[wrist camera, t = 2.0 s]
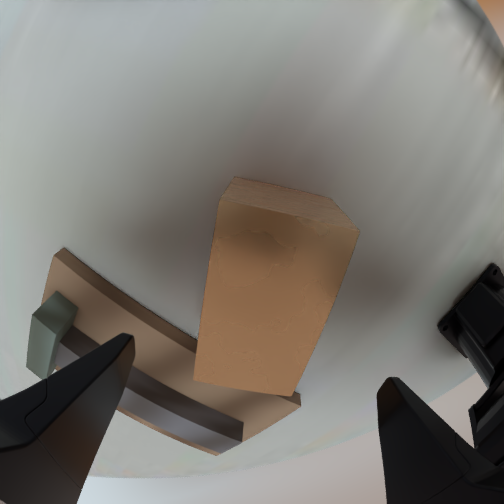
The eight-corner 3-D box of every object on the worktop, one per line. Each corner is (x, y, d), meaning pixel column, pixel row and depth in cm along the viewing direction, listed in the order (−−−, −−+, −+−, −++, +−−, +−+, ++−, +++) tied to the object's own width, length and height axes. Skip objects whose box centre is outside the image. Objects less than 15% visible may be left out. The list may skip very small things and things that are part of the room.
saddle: (330, 198, 14) (360, 231, 10) (286, 335, 18) (291, 396, 13) (234, 176, 14) (219, 199, 10) (208, 321, 18) (193, 380, 13)
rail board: (300, 394, 20) (303, 438, 16) (217, 446, 24) (212, 480, 21) (63, 247, 16) (25, 277, 12) (39, 343, 20) (16, 372, 16)
